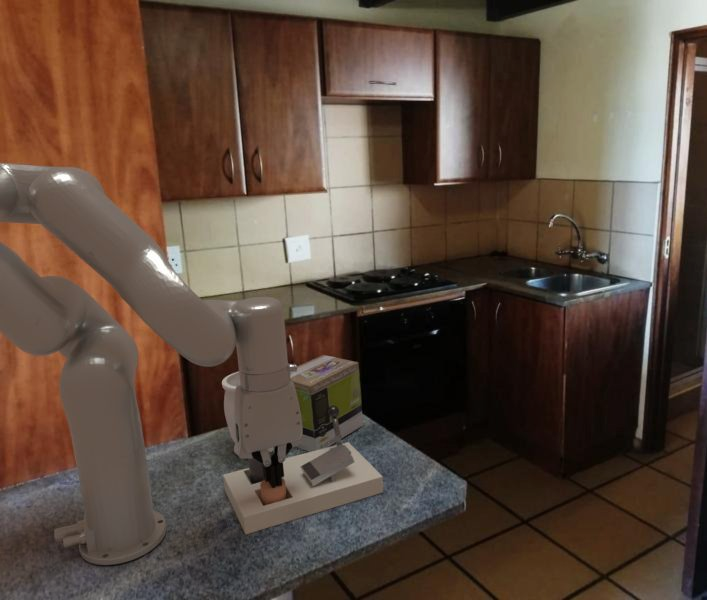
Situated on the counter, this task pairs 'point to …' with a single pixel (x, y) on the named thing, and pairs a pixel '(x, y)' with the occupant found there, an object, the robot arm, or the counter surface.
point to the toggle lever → (335, 422)
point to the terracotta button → (272, 493)
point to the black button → (256, 470)
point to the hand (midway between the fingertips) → (274, 482)
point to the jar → (231, 404)
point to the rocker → (327, 464)
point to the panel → (301, 491)
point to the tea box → (327, 399)
